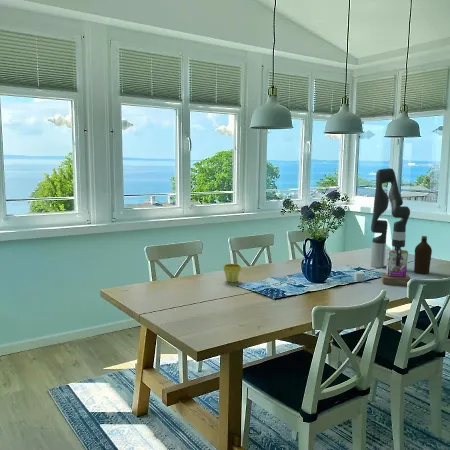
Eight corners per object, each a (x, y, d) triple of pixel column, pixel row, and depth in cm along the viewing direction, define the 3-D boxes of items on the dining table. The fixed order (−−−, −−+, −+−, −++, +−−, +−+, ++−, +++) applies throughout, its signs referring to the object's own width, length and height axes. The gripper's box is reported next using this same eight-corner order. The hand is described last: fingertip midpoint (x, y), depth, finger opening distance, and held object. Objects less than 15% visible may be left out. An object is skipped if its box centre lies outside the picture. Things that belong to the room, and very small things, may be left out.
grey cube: (353, 279, 296) (354, 271, 295) (361, 279, 296) (362, 271, 295) (356, 281, 291) (356, 273, 290) (364, 281, 291) (364, 273, 290)
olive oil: (425, 275, 310) (428, 238, 306) (410, 272, 318) (412, 235, 314) (432, 273, 316) (436, 236, 313) (418, 270, 324) (420, 234, 321)
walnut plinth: (381, 278, 299) (381, 272, 298) (407, 280, 295) (408, 274, 294) (383, 284, 285) (383, 277, 285) (410, 286, 282) (411, 280, 281)
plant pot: (229, 277, 294) (230, 262, 293) (243, 280, 288) (244, 265, 287) (220, 281, 286) (220, 265, 284) (234, 284, 280) (234, 268, 278)
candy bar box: (387, 276, 288) (389, 250, 286) (385, 274, 293) (387, 249, 290) (406, 277, 287) (408, 251, 284) (404, 275, 291) (406, 249, 289)
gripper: (391, 236, 294) (389, 261, 296) (393, 240, 280) (391, 266, 283) (403, 237, 292) (402, 262, 294) (406, 241, 278) (404, 267, 281)
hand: (396, 264), depth 289 cm, fingers open, 8 cm apart
